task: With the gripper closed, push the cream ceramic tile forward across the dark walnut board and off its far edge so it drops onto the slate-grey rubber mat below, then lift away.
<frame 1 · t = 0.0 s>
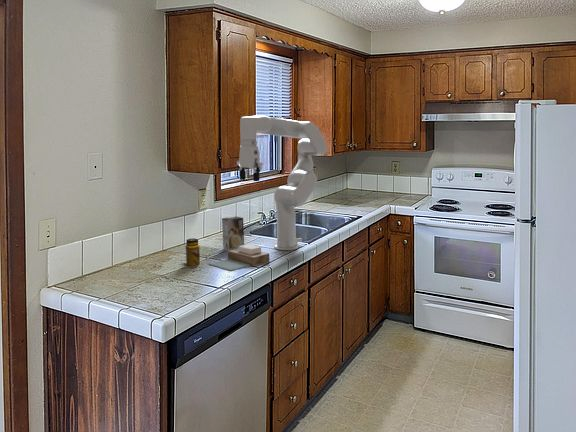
hand: (249, 180, 257), 37 cm above the worktop, tool pointing down, fingers open, 9 cm apart
tile: (249, 251, 255), point 4 cm above the worktop, touching board
mat: (229, 265, 248), on the worktop
condiment: (191, 265, 249), on the worktop
board: (248, 260, 255), on the worktop
coffee box: (233, 249, 278), on the worktop
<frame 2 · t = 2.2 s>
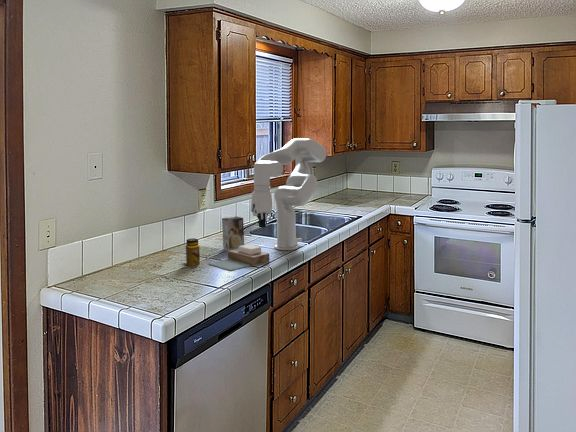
hand: (262, 227, 259), 15 cm above the worktop, tool pointing down, fingers closed
nothing on the worktop moved.
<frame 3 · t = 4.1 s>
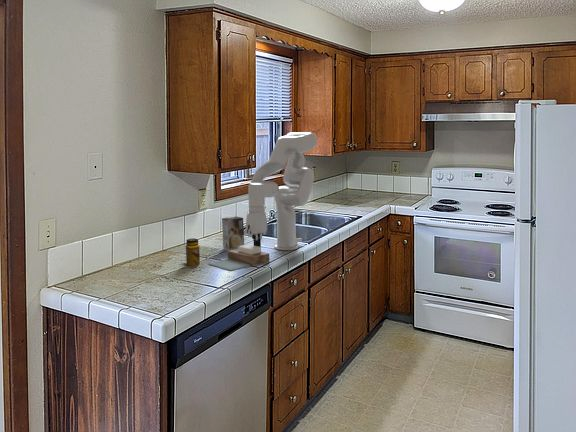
hand: (257, 247, 258), 5 cm above the worktop, tool pointing down, fingers closed
tile: (249, 251, 255), point 4 cm above the worktop, touching board, gripper
everything else where it was.
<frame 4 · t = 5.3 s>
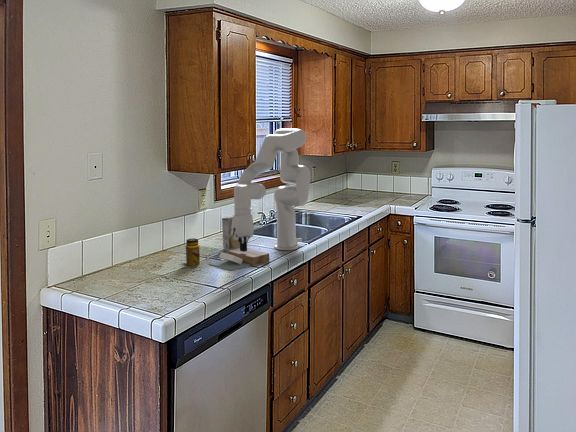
hand: (243, 250, 253), 5 cm above the worktop, tool pointing down, fingers closed
tile: (231, 255, 248), point 4 cm above the worktop, tilted 151°, touching mat
everything else where it was.
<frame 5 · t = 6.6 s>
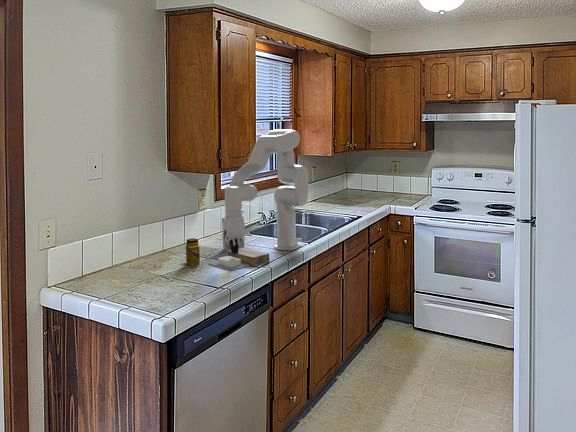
hand: (234, 253, 249), 5 cm above the worktop, tool pointing down, fingers closed
tile: (229, 258, 247), point 3 cm above the worktop, tilted 180°, touching mat
everything else where it was.
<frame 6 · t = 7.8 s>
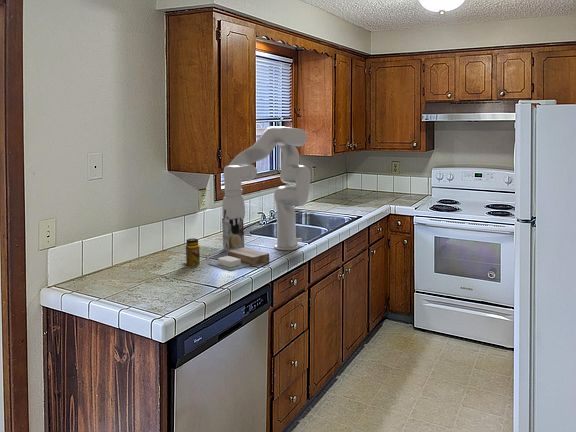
hand: (235, 233, 248), 14 cm above the worktop, tool pointing down, fingers closed
nothing on the worktop moved.
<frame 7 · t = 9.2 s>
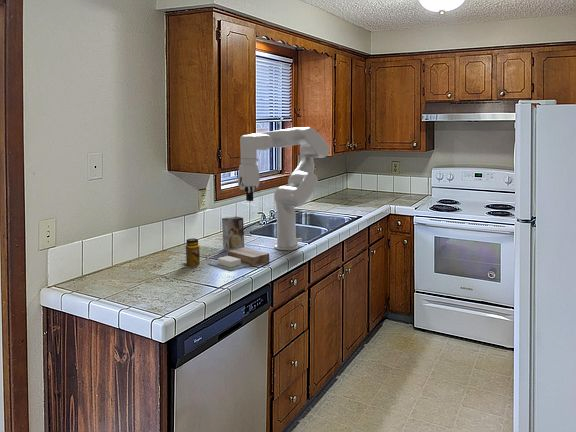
hand: (249, 200, 258), 27 cm above the worktop, tool pointing down, fingers closed
nothing on the worktop moved.
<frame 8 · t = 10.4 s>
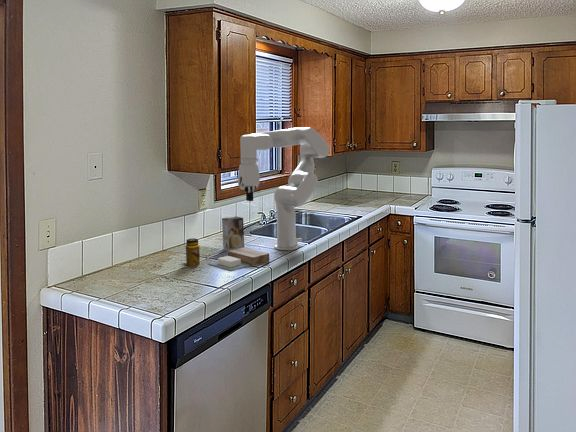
hand: (249, 200, 258), 27 cm above the worktop, tool pointing down, fingers closed
nothing on the worktop moved.
at the end: tile inside the target area on the mat (0.2 cm from its centre), point 3.0 cm above the mat's base; tile touching mat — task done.
